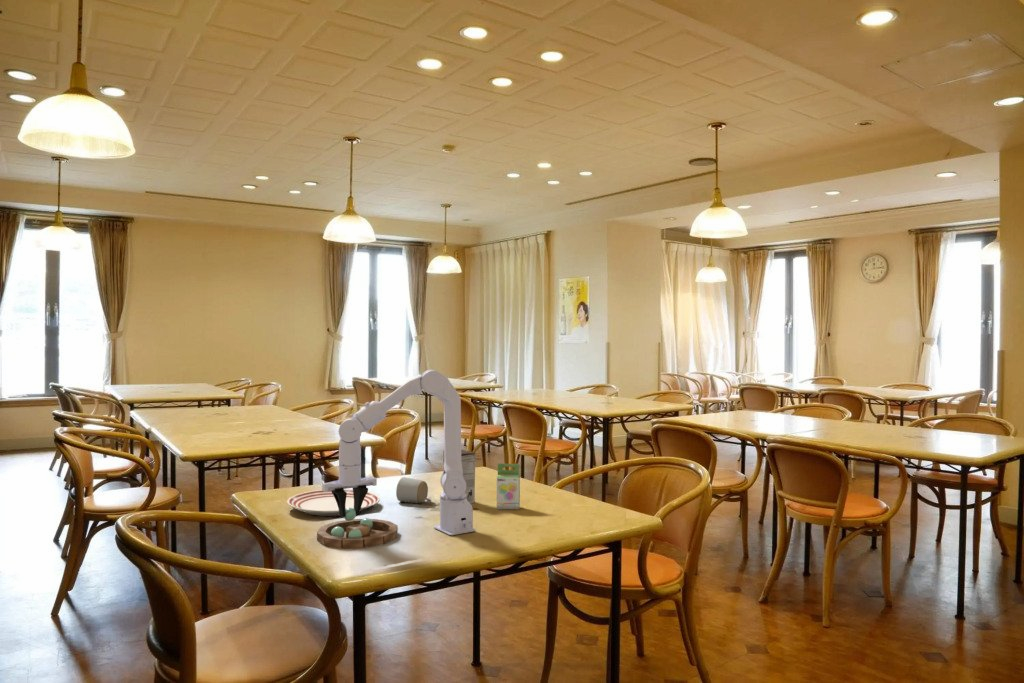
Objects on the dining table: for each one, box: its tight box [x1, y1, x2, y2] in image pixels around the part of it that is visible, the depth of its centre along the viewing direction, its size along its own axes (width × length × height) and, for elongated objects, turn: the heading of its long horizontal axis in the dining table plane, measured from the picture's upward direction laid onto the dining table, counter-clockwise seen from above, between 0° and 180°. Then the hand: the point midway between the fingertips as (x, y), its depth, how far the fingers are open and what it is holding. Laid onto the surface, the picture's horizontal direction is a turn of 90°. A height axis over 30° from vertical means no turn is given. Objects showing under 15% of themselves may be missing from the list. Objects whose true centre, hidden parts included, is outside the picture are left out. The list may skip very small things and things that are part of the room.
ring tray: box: [316, 518, 399, 549], centre depth 183 cm, size 20×20×3 cm
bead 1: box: [343, 508, 357, 521], centre depth 188 cm, size 3×3×3 cm
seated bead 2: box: [348, 529, 362, 538], centre depth 178 cm, size 3×3×3 cm
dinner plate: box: [286, 488, 381, 517], centre depth 216 cm, size 27×27×3 cm
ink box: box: [496, 463, 521, 511], centre depth 217 cm, size 7×4×13 cm, turn 87°
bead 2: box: [360, 517, 373, 529], centre depth 189 cm, size 3×3×3 cm
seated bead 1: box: [331, 527, 345, 537], centre depth 180 cm, size 3×3×3 cm
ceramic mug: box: [395, 476, 429, 504], centre depth 226 cm, size 11×8×8 cm
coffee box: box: [443, 449, 476, 504], centre depth 225 cm, size 9×6×16 cm
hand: (349, 515), depth 188 cm, fingers closed on bead 1, 3 cm apart
